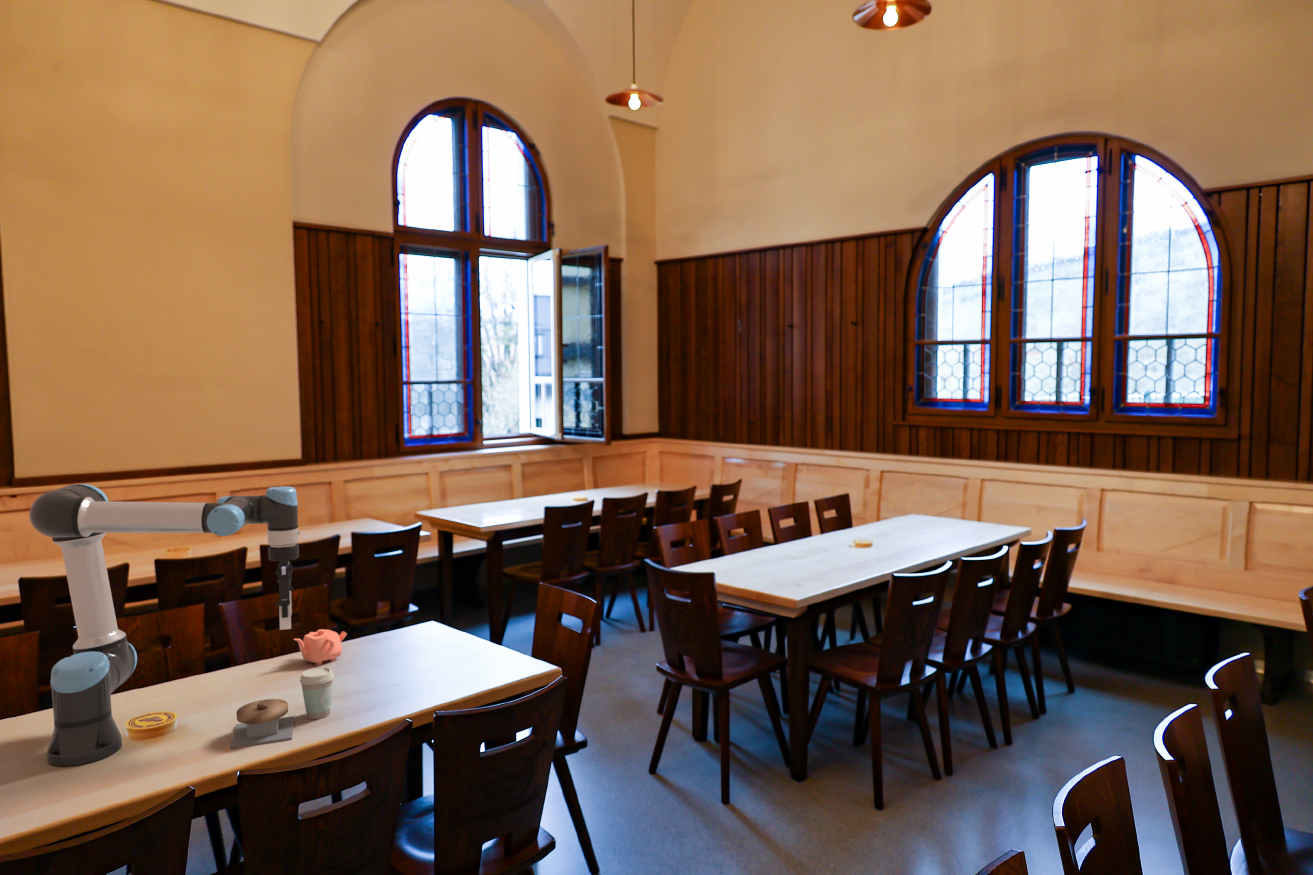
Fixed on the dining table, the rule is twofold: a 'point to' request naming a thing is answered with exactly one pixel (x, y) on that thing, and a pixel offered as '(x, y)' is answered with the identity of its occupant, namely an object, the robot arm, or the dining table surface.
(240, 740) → the grey stepped base plate
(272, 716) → the lid
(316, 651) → the teapot
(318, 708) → the coffee cup
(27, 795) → the dining table surface
